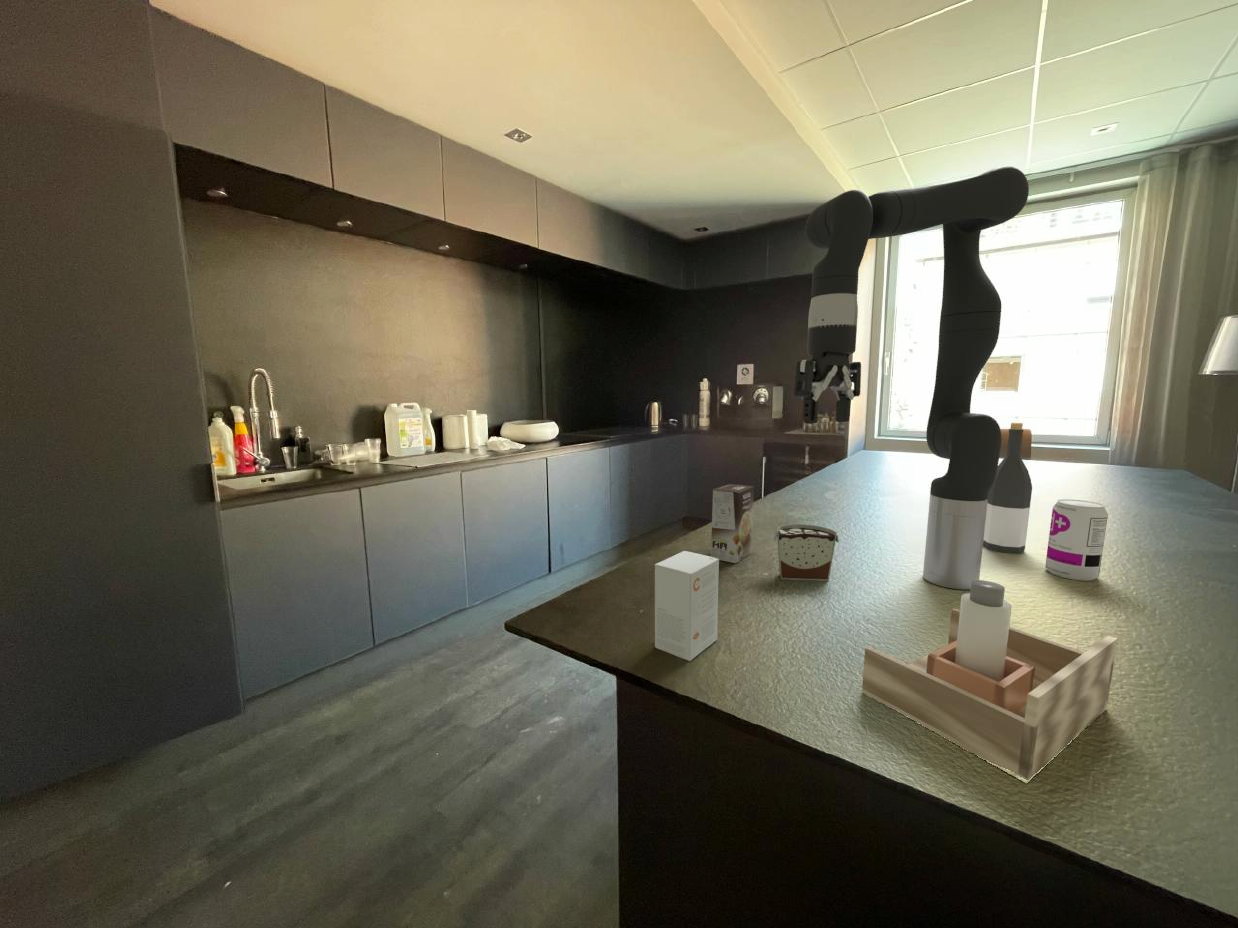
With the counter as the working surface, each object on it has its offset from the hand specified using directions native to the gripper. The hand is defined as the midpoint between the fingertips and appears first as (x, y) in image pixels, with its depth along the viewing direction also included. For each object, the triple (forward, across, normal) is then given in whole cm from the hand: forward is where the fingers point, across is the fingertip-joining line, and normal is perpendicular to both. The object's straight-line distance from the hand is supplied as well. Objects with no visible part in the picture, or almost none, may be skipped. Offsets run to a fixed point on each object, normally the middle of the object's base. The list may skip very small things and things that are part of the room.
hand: (826, 422), depth 84 cm
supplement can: (+32, +55, -19) cm, 67 cm away
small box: (+32, -30, 0) cm, 44 cm away
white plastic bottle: (+32, -8, -29) cm, 43 cm away
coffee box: (+32, +4, +26) cm, 42 cm away
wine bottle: (+32, +63, -4) cm, 71 cm away
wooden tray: (+32, -8, -29) cm, 44 cm away
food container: (+32, +8, +10) cm, 35 cm away
